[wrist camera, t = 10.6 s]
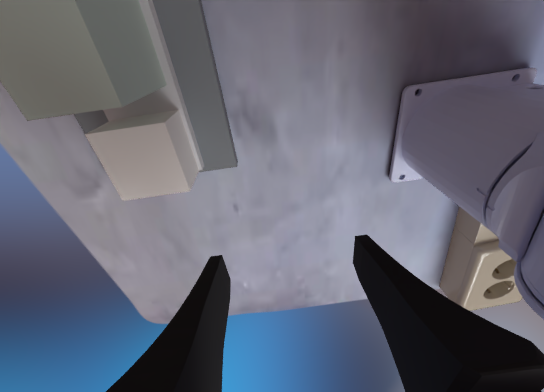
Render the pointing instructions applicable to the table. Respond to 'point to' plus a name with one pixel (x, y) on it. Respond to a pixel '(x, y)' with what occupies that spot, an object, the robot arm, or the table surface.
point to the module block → (75, 55)
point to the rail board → (192, 82)
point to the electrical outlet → (477, 267)
